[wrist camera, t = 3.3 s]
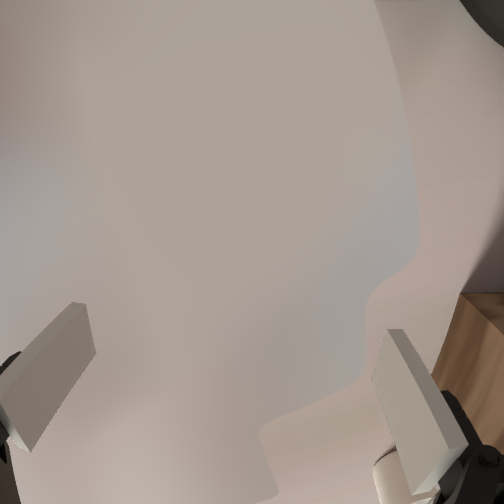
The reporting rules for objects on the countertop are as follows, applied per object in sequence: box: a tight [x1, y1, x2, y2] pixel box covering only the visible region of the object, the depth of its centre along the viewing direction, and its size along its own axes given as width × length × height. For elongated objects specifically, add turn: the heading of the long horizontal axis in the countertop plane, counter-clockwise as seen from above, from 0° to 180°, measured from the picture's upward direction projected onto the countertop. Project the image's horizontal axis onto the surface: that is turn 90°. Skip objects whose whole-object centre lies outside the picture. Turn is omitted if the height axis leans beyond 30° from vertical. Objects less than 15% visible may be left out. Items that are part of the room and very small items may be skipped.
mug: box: [373, 450, 440, 504], centre depth 33 cm, size 12×8×10 cm
